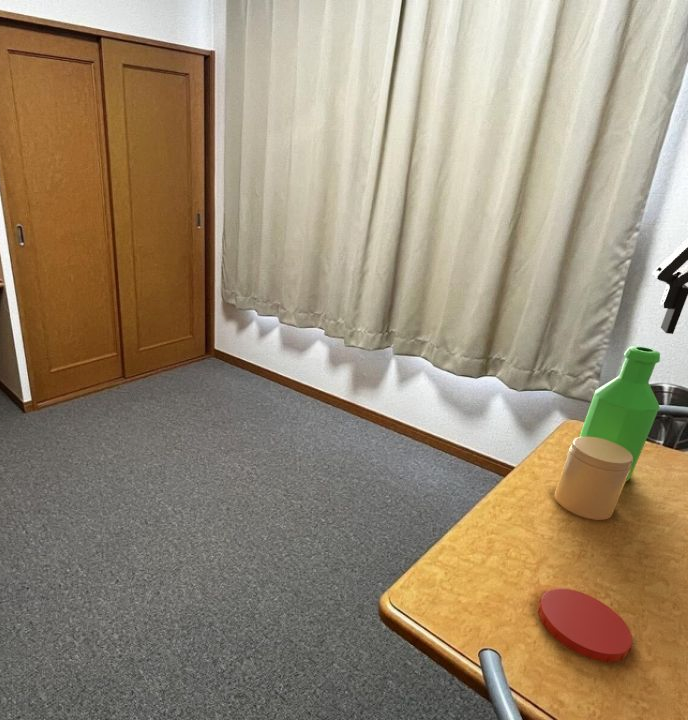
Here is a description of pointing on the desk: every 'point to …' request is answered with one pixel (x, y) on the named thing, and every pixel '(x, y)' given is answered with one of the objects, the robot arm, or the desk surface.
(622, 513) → the desk surface
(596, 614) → the lid
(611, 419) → the bottle
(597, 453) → the jam jar
